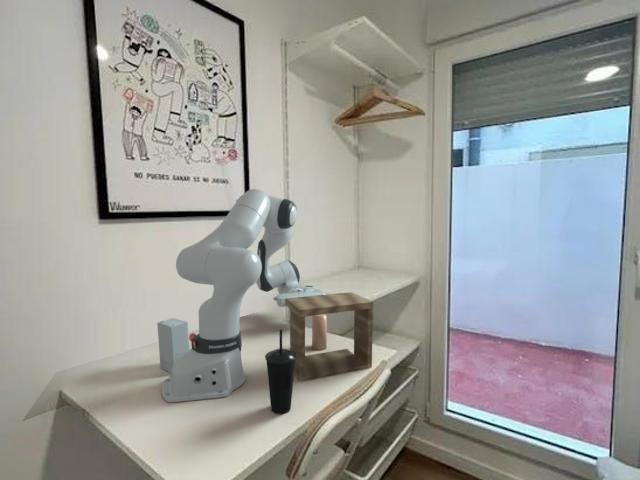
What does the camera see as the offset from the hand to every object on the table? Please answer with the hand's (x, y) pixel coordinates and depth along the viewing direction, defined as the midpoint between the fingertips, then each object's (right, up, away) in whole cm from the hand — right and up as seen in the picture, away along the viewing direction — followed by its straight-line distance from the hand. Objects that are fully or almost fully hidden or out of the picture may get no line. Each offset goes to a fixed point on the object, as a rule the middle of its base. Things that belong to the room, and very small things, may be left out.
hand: (307, 303), depth 135 cm
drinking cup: (-5, -17, -49) cm, 52 cm away
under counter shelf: (+7, -15, -24) cm, 30 cm away
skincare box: (-40, -15, -27) cm, 51 cm away
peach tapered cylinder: (+5, -14, -10) cm, 18 cm away
